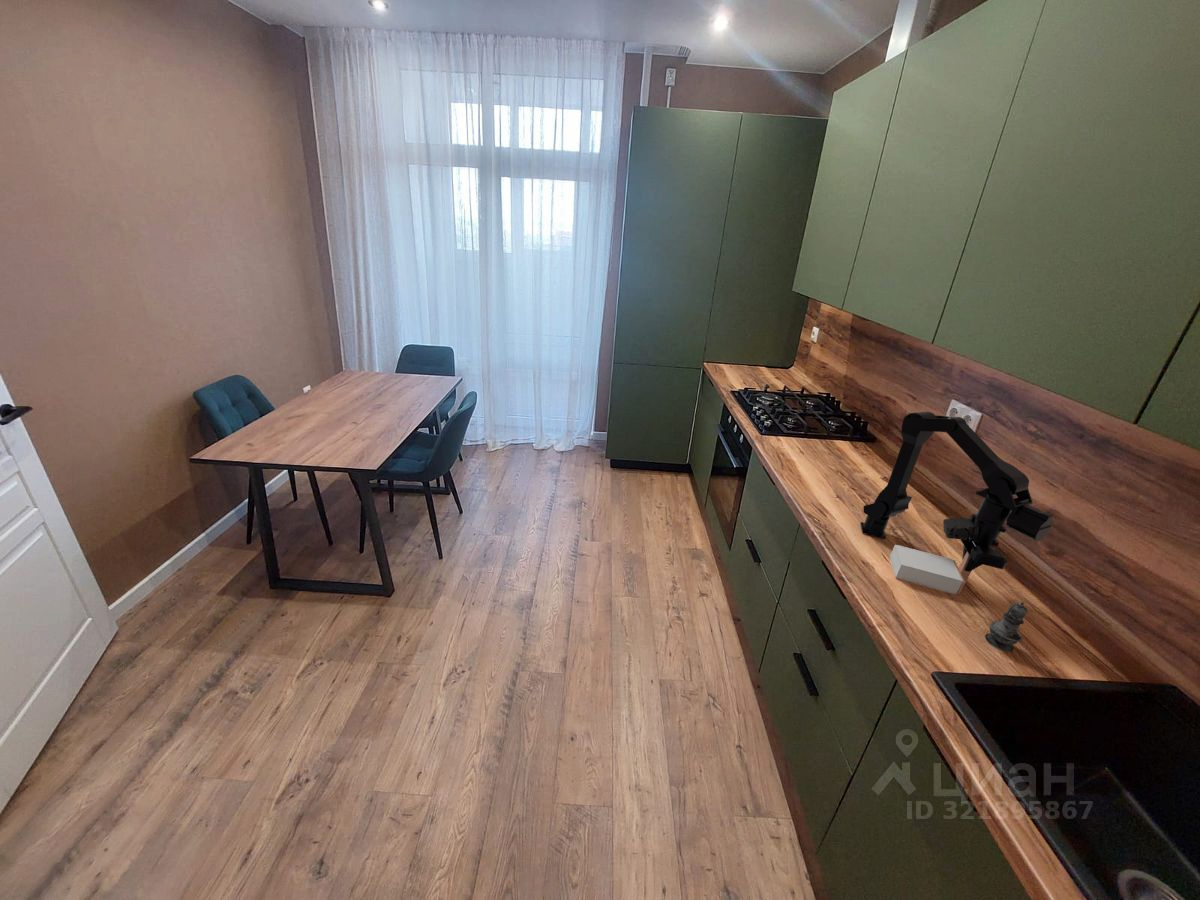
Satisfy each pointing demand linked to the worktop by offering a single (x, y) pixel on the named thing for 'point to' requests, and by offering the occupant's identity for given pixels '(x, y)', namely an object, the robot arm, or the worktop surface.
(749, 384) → the worktop surface
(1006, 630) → the grey figurine
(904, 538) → the worktop surface
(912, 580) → the sleeve
